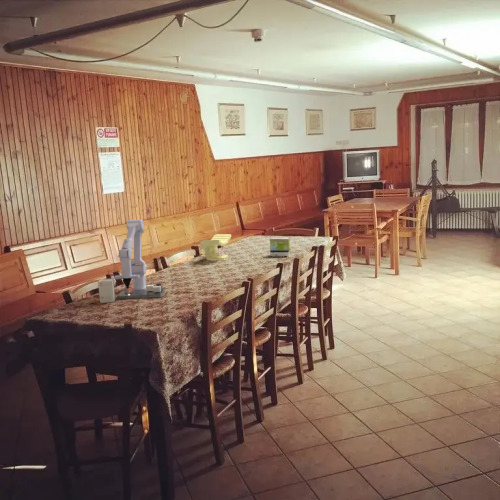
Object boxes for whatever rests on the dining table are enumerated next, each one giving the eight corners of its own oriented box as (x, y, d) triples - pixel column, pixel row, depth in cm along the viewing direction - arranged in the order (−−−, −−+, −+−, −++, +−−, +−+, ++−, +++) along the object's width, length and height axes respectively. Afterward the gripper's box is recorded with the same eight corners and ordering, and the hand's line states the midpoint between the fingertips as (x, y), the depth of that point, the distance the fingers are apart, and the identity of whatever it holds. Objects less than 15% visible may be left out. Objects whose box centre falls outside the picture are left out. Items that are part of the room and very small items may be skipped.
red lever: (130, 290, 326) (129, 285, 325) (133, 290, 325) (133, 285, 325) (124, 294, 317) (123, 289, 316) (127, 294, 316) (127, 289, 316)
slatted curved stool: (214, 255, 447) (212, 234, 444) (232, 255, 442) (231, 234, 439) (201, 262, 419) (199, 240, 415) (220, 262, 414) (219, 240, 411)
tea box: (270, 257, 428) (269, 238, 426) (271, 254, 438) (271, 236, 436) (288, 256, 426) (288, 238, 423) (290, 254, 435) (289, 236, 433)
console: (123, 293, 330) (122, 287, 329) (164, 292, 329) (164, 285, 328) (117, 299, 316) (116, 292, 316) (160, 297, 316) (160, 291, 315)
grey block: (154, 291, 323) (154, 286, 322) (161, 290, 323) (160, 285, 322) (153, 292, 320) (153, 287, 319) (160, 292, 320) (159, 287, 319)
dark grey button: (156, 287, 327) (156, 283, 327) (161, 287, 327) (161, 283, 327) (155, 288, 324) (155, 284, 324) (160, 288, 324) (160, 284, 324)
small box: (115, 299, 316) (113, 278, 314) (114, 302, 310) (112, 280, 308) (101, 300, 316) (99, 278, 314) (99, 303, 310) (97, 281, 307)
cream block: (147, 289, 327) (147, 284, 326) (154, 289, 327) (153, 284, 326) (146, 290, 324) (146, 286, 323) (153, 290, 324) (152, 285, 323)
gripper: (112, 270, 316) (114, 292, 319) (136, 269, 316) (138, 291, 318) (115, 267, 323) (117, 289, 326) (139, 267, 323) (141, 288, 325)
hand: (128, 290), depth 322 cm, fingers closed, pressing on red lever
